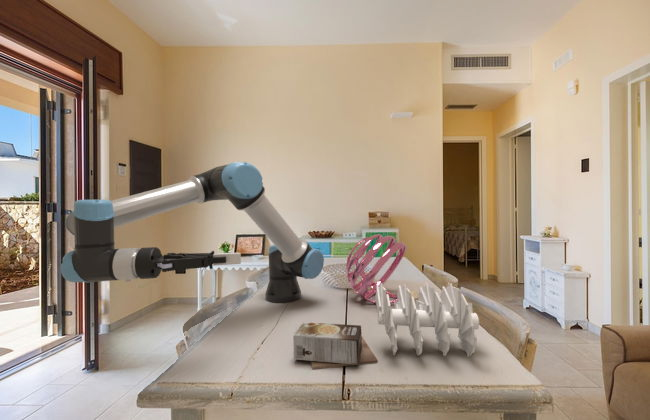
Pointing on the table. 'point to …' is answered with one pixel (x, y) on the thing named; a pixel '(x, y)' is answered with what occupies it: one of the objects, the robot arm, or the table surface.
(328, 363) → the walnut board
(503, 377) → the table surface
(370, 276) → the spiral basket
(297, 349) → the coffee box
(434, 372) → the table surface
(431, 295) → the spiral staircase
